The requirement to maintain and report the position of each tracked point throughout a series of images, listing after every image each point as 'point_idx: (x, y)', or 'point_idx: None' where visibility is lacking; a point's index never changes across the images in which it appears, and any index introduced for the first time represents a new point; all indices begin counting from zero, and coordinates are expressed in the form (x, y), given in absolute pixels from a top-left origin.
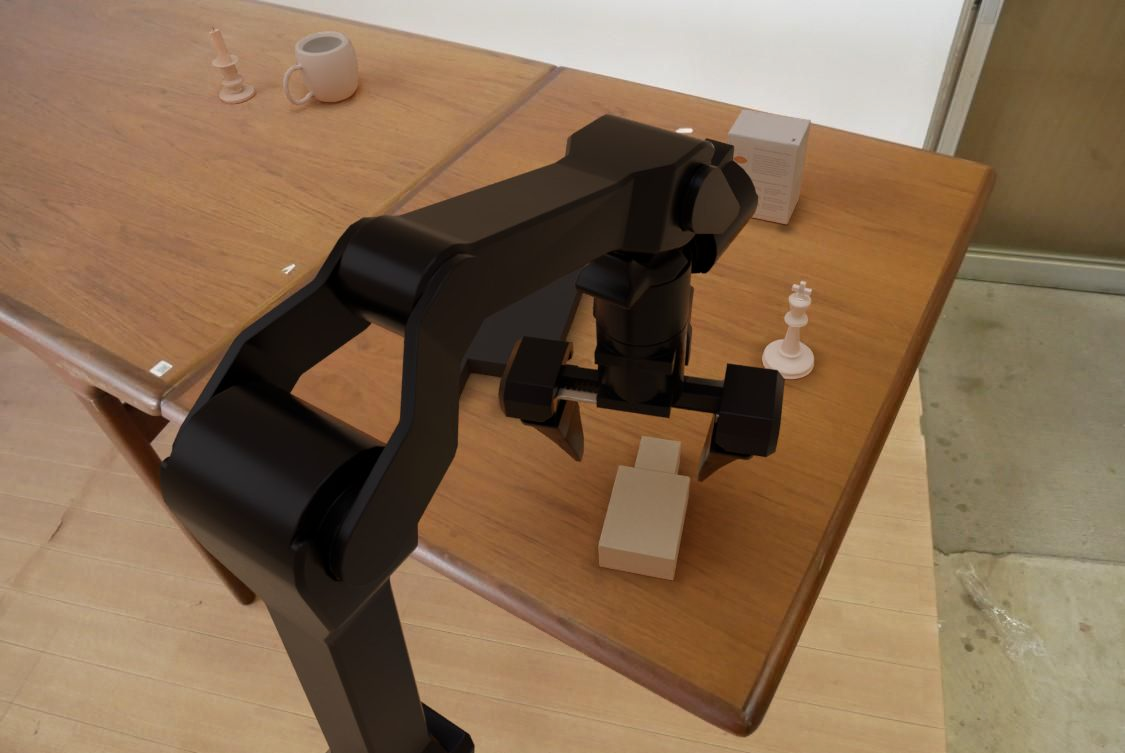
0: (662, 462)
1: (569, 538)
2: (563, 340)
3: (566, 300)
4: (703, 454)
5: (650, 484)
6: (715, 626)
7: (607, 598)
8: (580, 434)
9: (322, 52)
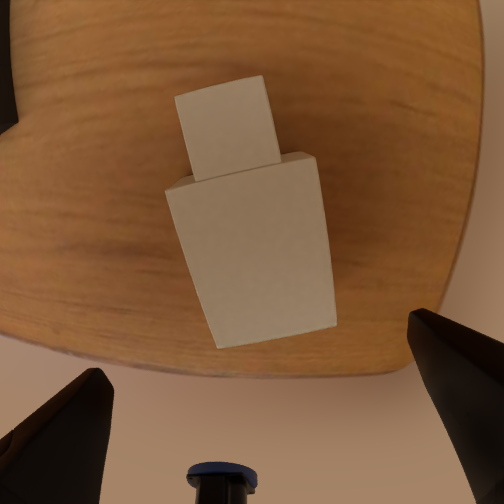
0: (246, 145)
1: (162, 292)
2: (2, 2)
3: None
4: (468, 426)
5: (245, 208)
6: (383, 319)
7: None
8: (72, 430)
9: None
